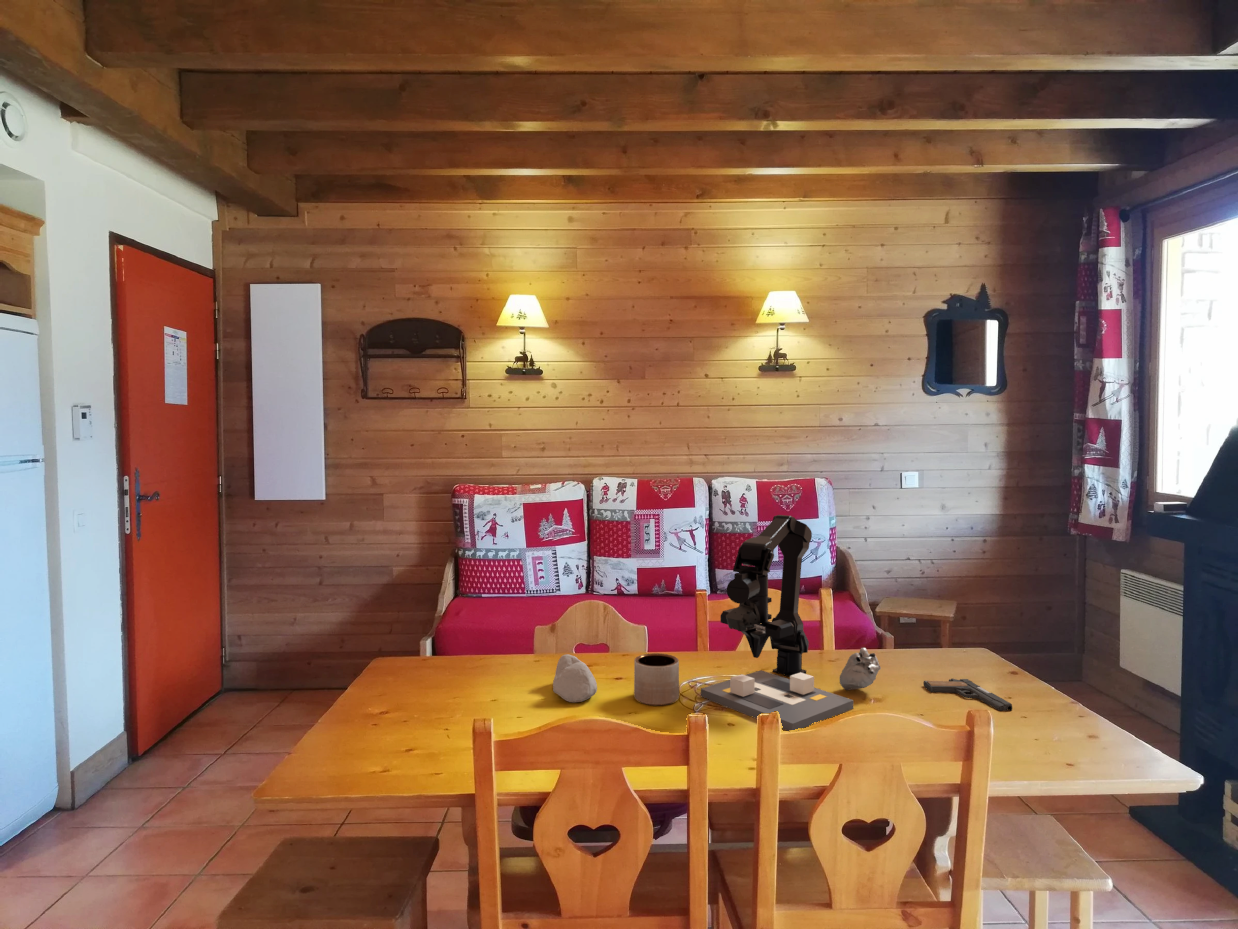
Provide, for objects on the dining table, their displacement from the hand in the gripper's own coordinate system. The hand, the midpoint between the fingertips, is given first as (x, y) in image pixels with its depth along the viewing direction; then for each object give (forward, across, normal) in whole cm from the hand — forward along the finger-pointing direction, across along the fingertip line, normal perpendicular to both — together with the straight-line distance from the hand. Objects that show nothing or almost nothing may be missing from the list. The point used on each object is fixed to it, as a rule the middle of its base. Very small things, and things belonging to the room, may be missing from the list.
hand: (756, 657), depth 190 cm
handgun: (+11, +32, +38) cm, 51 cm away
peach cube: (+7, +8, +7) cm, 13 cm away
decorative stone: (+10, -31, -33) cm, 46 cm away
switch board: (+10, +5, +1) cm, 11 cm away
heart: (+11, +14, +23) cm, 28 cm away
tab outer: (+7, 0, -5) cm, 9 cm away
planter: (+10, -15, -19) cm, 26 cm away
